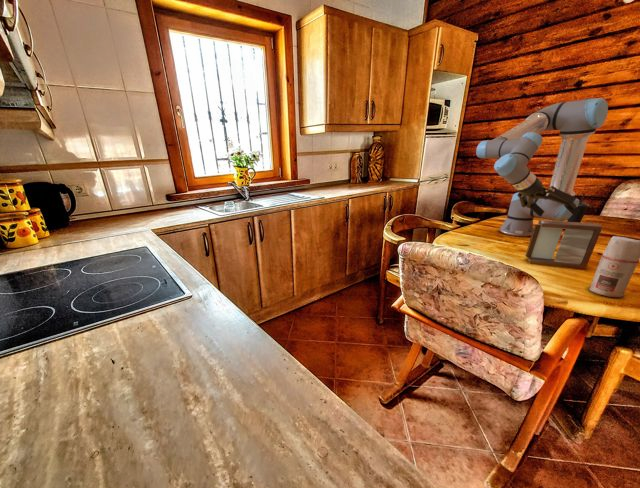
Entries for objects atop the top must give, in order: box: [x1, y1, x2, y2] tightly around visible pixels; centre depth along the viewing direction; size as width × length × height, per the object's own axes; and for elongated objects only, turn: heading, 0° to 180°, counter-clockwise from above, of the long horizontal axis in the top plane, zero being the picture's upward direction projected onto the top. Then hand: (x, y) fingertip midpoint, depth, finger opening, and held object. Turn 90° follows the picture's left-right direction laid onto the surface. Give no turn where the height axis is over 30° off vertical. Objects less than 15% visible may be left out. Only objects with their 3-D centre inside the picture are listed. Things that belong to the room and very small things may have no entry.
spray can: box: [588, 235, 640, 298], centre depth 92 cm, size 8×8×20 cm
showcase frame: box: [526, 220, 604, 270], centre depth 115 cm, size 5×18×18 cm, turn 64°
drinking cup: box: [566, 192, 590, 223], centre depth 158 cm, size 8×8×20 cm
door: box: [525, 224, 564, 259], centre depth 118 cm, size 2×9×14 cm, turn 63°
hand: (558, 213), depth 119 cm, fingers open, 13 cm apart
